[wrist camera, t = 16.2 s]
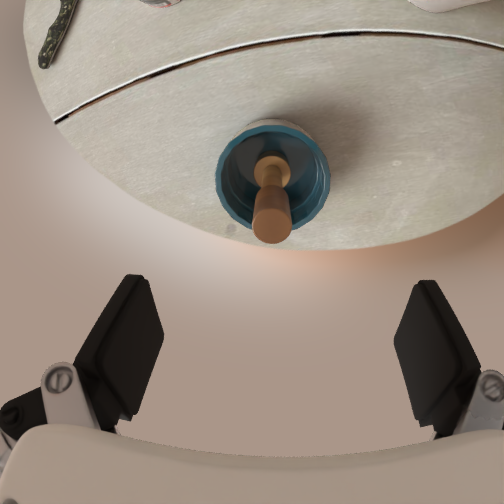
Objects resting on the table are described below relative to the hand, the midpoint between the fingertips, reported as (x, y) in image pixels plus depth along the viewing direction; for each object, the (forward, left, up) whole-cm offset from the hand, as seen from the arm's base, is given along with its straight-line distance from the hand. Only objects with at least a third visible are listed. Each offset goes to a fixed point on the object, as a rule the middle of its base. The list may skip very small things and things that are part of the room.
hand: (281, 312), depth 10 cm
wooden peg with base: (0, 0, -20) cm, 20 cm away
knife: (+22, -24, -19) cm, 38 cm away
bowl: (0, 0, -20) cm, 20 cm away
